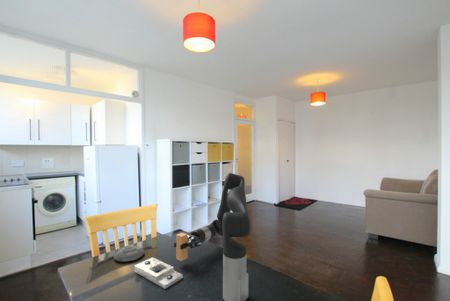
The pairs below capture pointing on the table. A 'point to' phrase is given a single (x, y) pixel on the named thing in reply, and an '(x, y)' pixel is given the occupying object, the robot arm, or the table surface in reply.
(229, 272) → the robot arm
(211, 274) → the table surface
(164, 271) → the white peg board
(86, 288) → the table surface
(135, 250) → the flying saucer
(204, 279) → the table surface
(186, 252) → the pin
